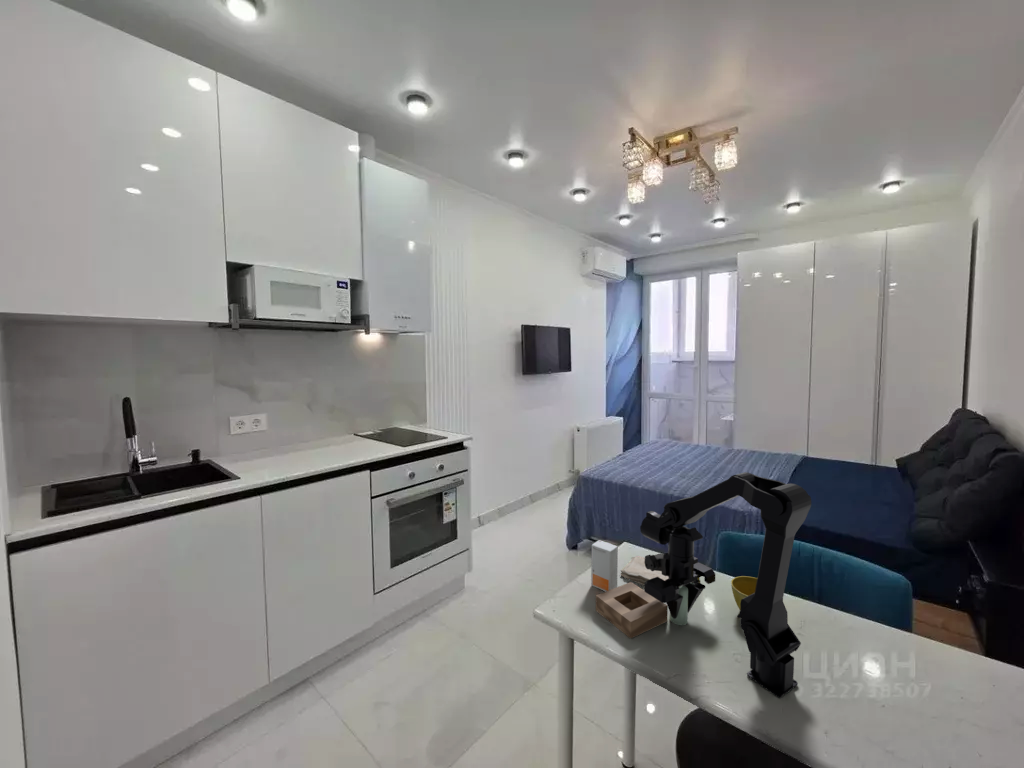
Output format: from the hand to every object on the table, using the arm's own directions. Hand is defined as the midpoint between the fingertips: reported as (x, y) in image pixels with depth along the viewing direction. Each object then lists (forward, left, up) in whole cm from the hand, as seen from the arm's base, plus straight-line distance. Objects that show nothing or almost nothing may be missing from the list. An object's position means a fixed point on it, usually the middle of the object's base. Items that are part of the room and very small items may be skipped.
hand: (680, 614), depth 102 cm
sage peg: (0, 0, -2) cm, 2 cm away
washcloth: (+16, -10, -2) cm, 20 cm away
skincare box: (+20, +6, -2) cm, 21 cm away
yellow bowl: (-8, -17, -2) cm, 19 cm away
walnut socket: (+7, +9, -2) cm, 12 cm away
